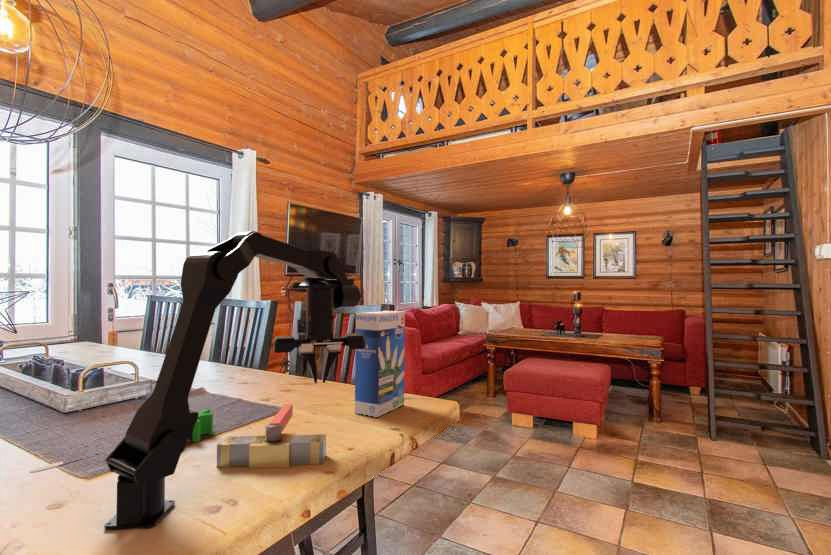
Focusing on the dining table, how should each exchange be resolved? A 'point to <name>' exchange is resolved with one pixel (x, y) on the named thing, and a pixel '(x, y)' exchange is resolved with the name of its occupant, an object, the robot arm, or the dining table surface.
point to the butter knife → (45, 467)
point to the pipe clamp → (203, 425)
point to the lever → (279, 423)
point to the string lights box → (380, 362)
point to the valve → (271, 451)
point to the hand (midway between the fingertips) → (319, 382)
